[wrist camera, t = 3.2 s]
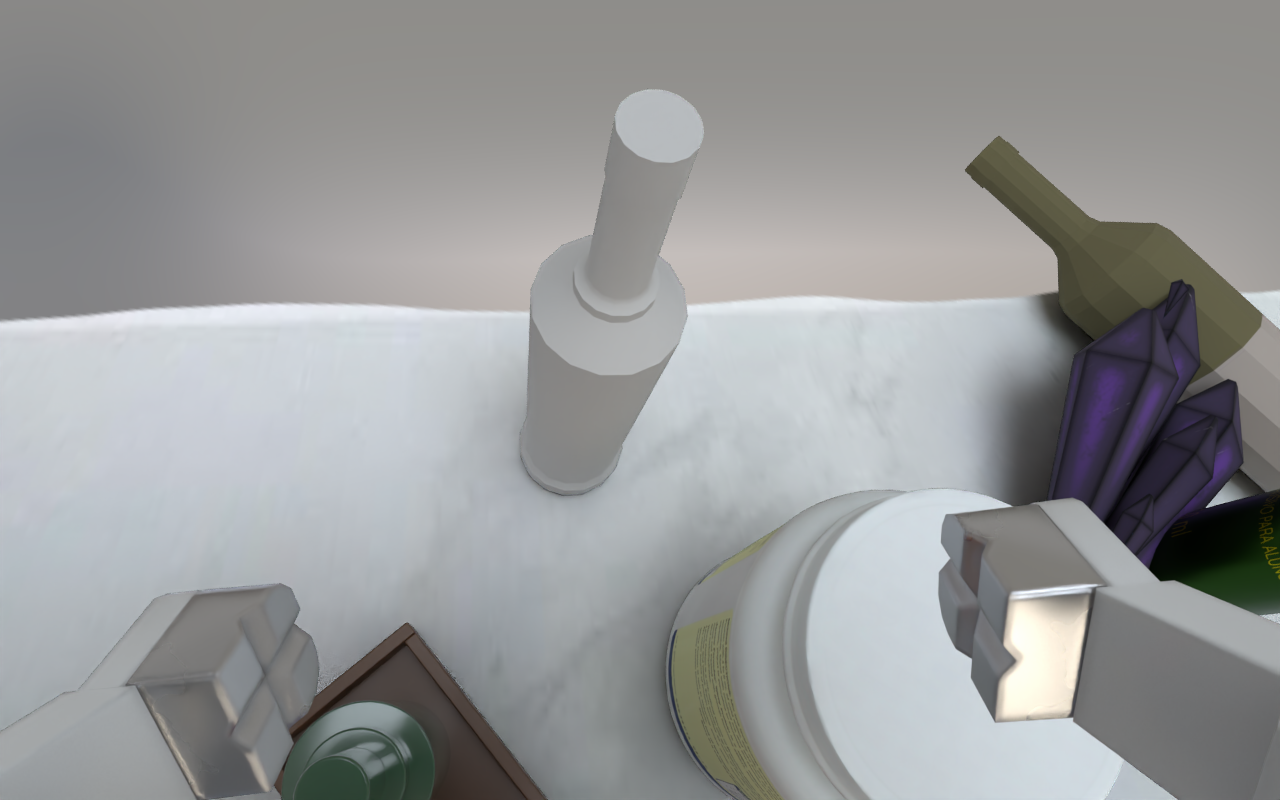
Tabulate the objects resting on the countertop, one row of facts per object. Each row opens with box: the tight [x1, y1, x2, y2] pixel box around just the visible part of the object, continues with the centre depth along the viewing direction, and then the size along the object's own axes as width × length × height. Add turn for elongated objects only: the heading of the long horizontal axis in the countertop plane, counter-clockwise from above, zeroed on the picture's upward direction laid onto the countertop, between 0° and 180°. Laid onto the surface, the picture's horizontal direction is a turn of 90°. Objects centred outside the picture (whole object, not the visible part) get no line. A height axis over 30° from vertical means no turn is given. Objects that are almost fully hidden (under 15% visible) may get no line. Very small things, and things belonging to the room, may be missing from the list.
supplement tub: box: [666, 488, 1124, 800], centre depth 30 cm, size 12×12×17 cm
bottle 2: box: [965, 136, 1280, 492], centre depth 46 cm, size 7×7×30 cm
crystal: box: [1047, 279, 1244, 569], centre depth 40 cm, size 7×12×20 cm
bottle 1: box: [520, 89, 704, 495], centre depth 29 cm, size 5×5×25 cm
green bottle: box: [281, 700, 451, 800], centre depth 27 cm, size 5×5×14 cm
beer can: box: [1149, 489, 1280, 615], centre depth 38 cm, size 5×5×12 cm
